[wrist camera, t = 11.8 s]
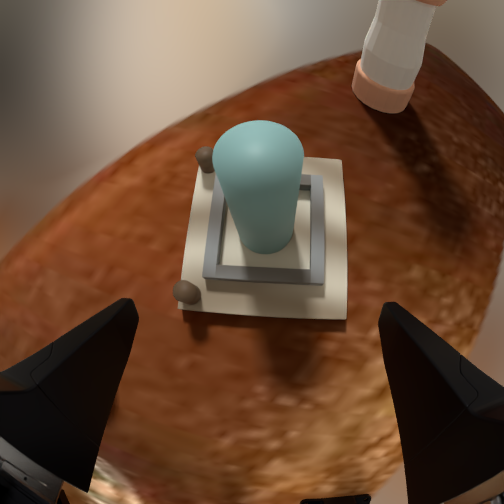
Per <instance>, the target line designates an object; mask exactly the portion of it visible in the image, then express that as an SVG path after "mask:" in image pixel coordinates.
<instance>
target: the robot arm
mask: <svg viewBox="0 0 504 504" xmlns="http://www.w3.org/2000/svg"><path fill="white" fill-rule="evenodd" d="M138 322H139V316H138V313H137V310H136V307H135V304H134V301H133V300H132V299H130V298H121V299H119V300H118V301H116V302H115V303H113V304H111V305H110V306H108V307H107V308H105V309H103V310H102V311H100V312H99V313H97V314H95V315H94V316H92V317H91V318H89V319H88V320H86V321H84V322H83V323H81V324H80V325H78V326H77V327H75V328H74V329H72V330H70V331H69V332H67V333H66V334H64V335H63V336H61V337H60V338H58V339H57V340H55V341H54V342H52V343H50V344H49V345H47V346H46V347H44V348H43V349H41V350H40V351H38V352H36V353H35V354H33V355H31V356H30V357H28V358H26V359H24V360H23V361H21V362H19V363H17V364H15V365H14V366H12V367H10V368H8V369H7V370H5V371H2V372H0V504H70V503H69V501H68V499H67V497H66V494H65V492H64V490H62V486H63V484H64V481H65V482H67V483H69V484H70V485H72V486H74V487H76V488H78V489H80V490H82V491H84V492H86V493H88V491H89V487H90V483H91V479H92V475H93V471H94V467H95V463H96V459H97V455H98V451H99V447H100V444H101V440H102V437H103V433H104V430H105V426H106V423H107V420H108V417H109V413H110V410H111V407H112V404H113V401H114V398H115V395H116V392H117V389H118V386H119V383H120V380H121V378H122V375H123V372H124V369H125V366H126V364H127V361H128V358H129V355H130V352H131V348H132V344H133V340H134V336H135V333H136V329H137V325H138ZM378 327H379V333H380V339H381V346H382V352H383V359H384V364H385V369H386V373H387V377H388V381H389V385H390V390H391V394H392V399H393V403H394V408H395V413H396V418H397V423H398V428H399V434H400V440H401V446H402V453H403V459H404V468H405V475H406V484H407V495H408V504H443V503H444V504H504V387H503V386H501V385H500V384H499V383H497V382H496V381H495V380H493V379H492V378H490V377H489V376H487V375H486V374H485V373H484V372H482V371H481V370H480V369H478V368H477V367H476V366H475V365H473V364H472V363H471V362H470V361H468V360H467V359H466V358H465V357H464V356H463V355H460V353H459V352H458V351H456V350H455V349H454V348H453V347H452V346H450V345H449V344H448V343H447V342H446V341H444V340H443V339H442V338H441V337H439V336H438V335H437V334H436V333H434V332H433V331H432V330H431V329H430V328H428V327H427V326H426V325H424V324H423V323H422V322H421V321H419V320H418V319H417V318H416V317H414V316H413V315H412V314H410V313H409V312H408V311H407V310H405V309H404V308H403V307H401V306H400V305H399V304H398V303H396V302H385V303H384V304H383V307H382V311H381V314H380V317H379V321H378ZM365 498H367V499H365ZM364 499H365V500H364ZM370 501H371V496H370V495H369V494H363V495H355V496H344V497H332V498H321V499H304V500H302V501H301V502H300V504H305V503H308V504H370Z"/></svg>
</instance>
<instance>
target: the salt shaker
mask: <svg viewBox="0 0 504 504" xmlns="http://www.w3.org/2000/svg"><path fill="white" fill-rule="evenodd" d="M446 1H447V0H378V6H377V10H376V15H375V17H374V19H373V22H372V24H371V26H370V29H369V31H368V33H367V36H366V38H365V41H364V46H363V52H362V57H361V59H360V60H359V61H358V62H357V65H356V69H355V73H354V78H353V82H352V89H353V92H354V94H355V95H356V96H357V98H358V99H359V100H361V101H362V102H363V103H364V104H366V105H368V106H369V107H371V108H373V109H375V110H378V111H381V112H385V113H399V112H401V111H403V110H404V109H405V108H406V106H407V104H408V102H409V99H410V97H411V95H412V93H413V91H414V80H415V78H416V76H417V73H418V71H419V69H420V67H421V65H422V59H423V54H424V48H425V41H426V36H427V33H428V30H429V27H430V24H431V21H432V17H433V14H434V11H435V8H436V6H441V5H442V4H444V3H445V2H446Z"/></svg>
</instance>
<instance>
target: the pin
mask: <svg viewBox="0 0 504 504" xmlns="http://www.w3.org/2000/svg"><path fill="white" fill-rule="evenodd" d="M303 159H304V152H303V147H302V144H301V142H300V140H299V139H298V137H297V136H296V135H295V134H294V133H293V132H292V131H291V130H289V129H288V128H286V127H284V126H282V125H280V124H278V123H274V122H270V121H249V122H245V123H242V124H239V125H237V126H235V127H233V128H231V129H229V130H228V131H227V132H225V133H224V134H223V135H222V136H221V138H220V139H219V140H218V142H217V143H216V145H215V147H214V150H213V156H212V161H213V166H214V169H215V172H216V175H217V178H218V180H219V183H220V186H221V188H222V191H223V194H224V196H225V199H226V202H227V205H228V207H229V210H230V213H231V215H232V218H233V221H234V223H235V226H236V229H237V231H238V234H239V237H240V239H241V241H242V243H243V244H244V245H245V246H246V247H247V248H248V249H250V250H251V251H253V252H255V253H259V254H272V253H275V252H278V251H280V250H281V249H283V248H284V247H285V246H286V245H287V244H288V243H289V241H290V239H291V237H292V234H293V228H294V222H295V215H296V209H297V202H298V195H299V188H300V181H301V174H302V167H303Z"/></svg>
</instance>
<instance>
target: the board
mask: <svg viewBox="0 0 504 504" xmlns="http://www.w3.org/2000/svg"><path fill="white" fill-rule="evenodd" d="M212 156H213V149H212V148H210V147H202V148H200V149H199V150H197V152H196V154H195V157H196V159H197V161H198V164H199V169H198V174H197V179H196V185H195V190H194V196H193V202H192V208H191V214H190V220H189V226H188V233H187V239H186V246H185V253H184V261H183V268H182V276H181V280H180V281H178V282H177V283H176V284H175V285H174V288H173V295H174V297H175V299H176V300H178V301H179V302H178V309H182V310H190V311H200V312H210V313H221V314H233V315H246V316H261V317H278V318H300V319H334V320H344V319H346V314H347V236H346V214H345V197H344V184H343V173H342V162H341V160H337V159H325V158H311V157H304V159H303V167H302V174H301V181H300V188H299V195H298V202H297V209H296V215H295V222H294V228H293V234H292V237H291V239H290V241H289V243H288V244H287V245H286V246H285V247H284V248H283V249H281V250H280V251H278V252H275V253H272V254H259V253H255V252H253V251H251V250H250V249H248V248H247V247H246V246H245V245H244V244H243V243H242V241H241V239H240V237H239V234H238V231H237V229H236V226H235V223H234V221H233V218H232V215H231V213H230V210H229V207H228V205H227V202H226V199H225V196H224V194H223V191H222V188H221V186H220V183H219V180H218V178H217V175H216V172H215V169H214V166H213V161H212Z"/></svg>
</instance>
